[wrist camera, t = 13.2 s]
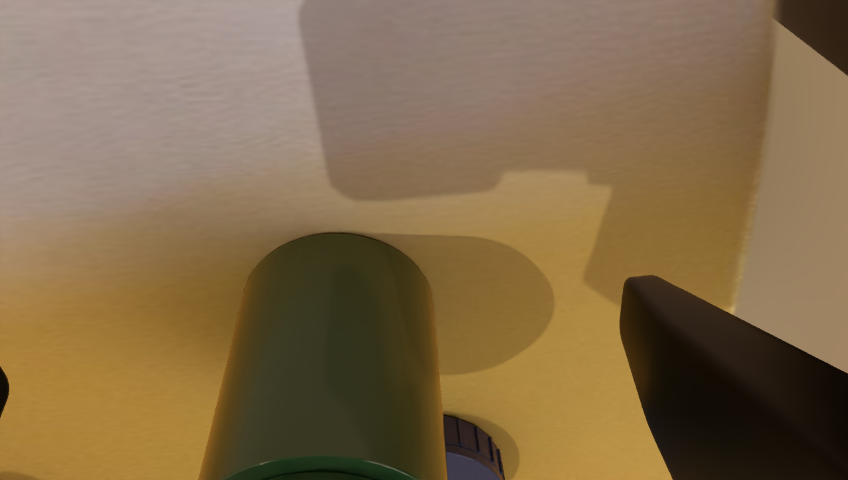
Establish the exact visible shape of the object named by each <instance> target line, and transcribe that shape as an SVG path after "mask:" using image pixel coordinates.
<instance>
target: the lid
mask: <svg viewBox="0 0 848 480" xmlns="http://www.w3.org/2000/svg"><path fill="white" fill-rule="evenodd" d="M443 420H444V431H445V443H446V455H447V466H448V478H449V480H505V477H504V471H503V465H502V461H501V455H500V449H497V448H496V446H495V444H494V442H493V441H492V437H491V436H490V437H489V436H488V435H487V434H485V433H484V432H483V431H482V430H480V429H479V428H478V427H477V426H474V425H472V424H470V423H468V422H465V421H463V420H460V419H456V418H452V417H448V416H443Z"/></svg>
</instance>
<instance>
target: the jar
mask: <svg viewBox="0 0 848 480" xmlns="http://www.w3.org/2000/svg"><path fill="white" fill-rule="evenodd" d="M198 480H449V478H448V466H447V455H446V443H445V431H444V420H443V408H442V396H441V385H440V373H439V361H438V350H437V338H436V326H435V315H434V303H433V296H432V292H431V289H430V286H429V284H428V282H427V280H426V278H425V276H424V275H423V273H422V272H421V271H420V269H419V268H418V267H417V266H416V265H415V264H414V263H413V262H412V261H411V260H410V259H409V258H408V257H406V256H405V255H404V254H402V253H401V252H399V251H398V250H396V249H394V248H393V247H391V246H389V245H387V244H384V243H382V242H380V241H377V240H374V239H371V238H367V237H363V236H358V235H351V234H320V235H313V236H309V237H304V238H300V239H298V240H295V241H292V242H289V243H287V244H285V245H283V246H281V247H279V248H277V249H276V250H275V251H273V252H272V253H270V254H269V255H267V256H266V257H265V258H264V259H263V260H262V261H261V262H260V263H259V264H258V265H257V266H256V268H255V269H254V270H253V272H252V273H251V275H250V277H249V279H248V281H247V284H246V286H245V289H244V293H243V298H242V302H241V306H240V310H239V314H238V318H237V322H236V326H235V331H234V335H233V339H232V343H231V347H230V351H229V355H228V359H227V364H226V368H225V372H224V376H223V380H222V384H221V388H220V392H219V397H218V401H217V405H216V409H215V413H214V417H213V421H212V425H211V430H210V434H209V438H208V442H207V446H206V450H205V454H204V458H203V462H202V467H201V471H200V475H199V479H198Z"/></svg>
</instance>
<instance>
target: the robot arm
mask: <svg viewBox="0 0 848 480" xmlns="http://www.w3.org/2000/svg"><path fill="white" fill-rule="evenodd" d="M620 334H621V339H622V343H623V346H624V349H625V353H626V356H627V359H628V362H629V366H630V369H631V372H632V375H633V379H634V382H635V385H636V389H637V392H638V395H639V398H640V402H641V405H642V408H643V411H644V414H645V417H646V420H647V423H648V425H649V428H650V430H651V433H652V435H653V437H654V439H655V442H656V444H657V446H658V448H659V450H660V453H661V455H662V457H663V459H664V461H665V463H666V466H667V468H668V470H669V472H670V474H671V476H672V479H673V480H848V373H845V372H844V371H841V370H840V369H838V368H836V367H834V366H832V365H830V364H828V363H826V362H824V361H822V360H820V359H818V358H816V357H814V356H812V355H810V354H808V353H806V352H804V351H802V350H800V349H798V348H797V347H795V346H793V345H790V344H789V343H787V342H785V341H783V340H781V339H779V338H777V337H775V336H773V335H771V334H769V333H767V332H765V331H763V330H761V329H759V328H757V327H755V326H753V325H751V324H750V323H747V322H746V321H744V320H741V319H740V318H738V317H736V316H734V315H732V314H730V313H728V312H726V311H724V310H722V309H720V308H718V307H716V306H714V305H712V304H710V303H708V302H706V301H704V300H702V299H700V298H699V297H697V296H695V295H693V294H691V293H689V292H687V291H685V290H683V289H681V288H679V287H677V286H675V285H673V284H671V283H669V282H667V281H665V280H663V279H661V278H659V277H657V276H654V275H648V276H638V277H630V278H628V279H627V280H626V281H625V283H624V287H623V295H622V304H621V312H620ZM8 395H9V383H8V379H7V377H6V375H5V373H4V372H3V370H2V368H1V367H0V417H1V414H2V412H3V409H4V407H5V404H6V401H7V399H8Z"/></svg>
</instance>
